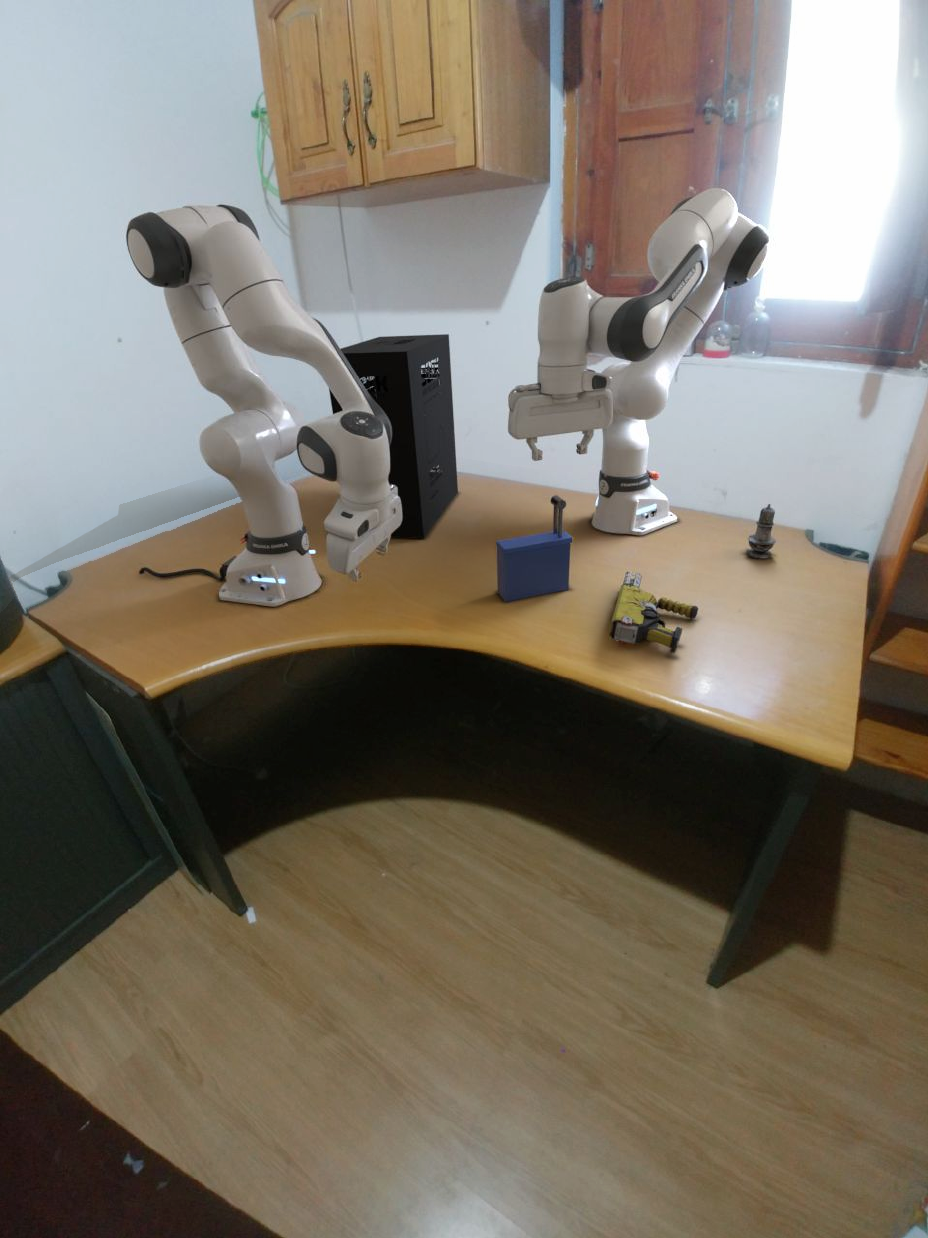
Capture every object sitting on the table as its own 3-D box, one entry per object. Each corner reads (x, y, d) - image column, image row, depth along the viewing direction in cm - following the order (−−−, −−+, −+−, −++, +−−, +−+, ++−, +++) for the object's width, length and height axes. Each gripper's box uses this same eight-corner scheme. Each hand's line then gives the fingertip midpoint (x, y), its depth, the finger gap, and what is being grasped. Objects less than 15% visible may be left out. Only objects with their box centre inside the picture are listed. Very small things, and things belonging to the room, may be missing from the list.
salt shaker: (775, 559, 136) (787, 508, 130) (747, 558, 137) (757, 508, 131) (769, 548, 141) (780, 499, 135) (742, 548, 142) (752, 499, 136)
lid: (562, 534, 128) (563, 492, 123) (572, 542, 124) (574, 499, 119) (496, 546, 124) (495, 503, 119) (504, 554, 120) (503, 510, 115)
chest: (558, 580, 133) (560, 535, 127) (568, 589, 129) (570, 543, 124) (497, 592, 129) (496, 546, 124) (505, 602, 125) (504, 555, 120)
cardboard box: (424, 538, 157) (407, 351, 135) (351, 535, 162) (323, 353, 139) (457, 492, 189) (448, 334, 166) (396, 490, 193) (379, 336, 171)
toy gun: (700, 582, 122) (625, 568, 126) (700, 638, 102) (611, 620, 106) (695, 602, 124) (621, 588, 128) (693, 661, 104) (606, 643, 108)
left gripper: (382, 475, 116) (383, 534, 126) (317, 526, 102) (324, 588, 112) (410, 484, 114) (409, 543, 124) (348, 538, 101) (353, 600, 110)
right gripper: (514, 389, 104) (515, 468, 111) (619, 377, 109) (614, 453, 116) (501, 383, 110) (503, 459, 116) (602, 372, 114) (598, 446, 121)
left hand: (368, 565), depth 118 cm, fingers open, 8 cm apart
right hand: (559, 456), depth 116 cm, fingers open, 8 cm apart
